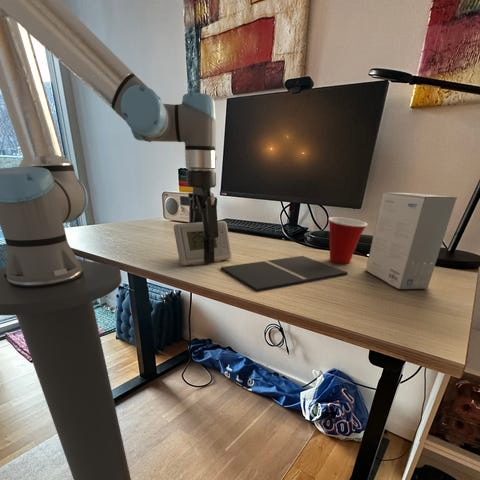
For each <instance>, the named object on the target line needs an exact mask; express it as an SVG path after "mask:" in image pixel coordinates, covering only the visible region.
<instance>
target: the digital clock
mask: <svg viewBox="0 0 480 480" xmlns="http://www.w3.org/2000/svg"><path fill="white" fill-rule="evenodd" d="M217 221H218V238H215V239H214V262H212V263H211V264H213V263H221V262H222V261H226V260H231V259H232V257H233V254H232V248H231V242H230V236H229V229H228V224H227V222H226V221H224V220H217ZM173 233H174V238H175V243H176V248H177V249H176V250H177V254H178V260H179V262H180V265H182V266H189V265H190V266H191V265H193V266H198V265H205V264H207V263H204V240H203V238H204V237H205V233H204V227H203V221H202V222H194V223H189V222H186V223H176V224H174V226H173Z"/></svg>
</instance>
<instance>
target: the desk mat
mask: <svg viewBox="0 0 480 480" xmlns="http://www.w3.org/2000/svg"><path fill="white" fill-rule="evenodd" d="M220 270H222V271H223V272H224V273H227V274H228V275H230V276H231V277H233V278H234V279H236V280H237V281H240V282H241V283H242V284H245V285H246V286H248V287H249V288H251V289H252V290H254V291H256V292H261V291H267V290H272V289H277V288H281V287H287V286H292V285H293V286H294V285H298V284H304V283H308V282H313V281H320V280H324V279H330V278H336V277H340V276H346V275H348V272H347V271H346V270H342V269H339V268H337V267H334V266H331V265H329V264H326V263H323V262H321V261H319V260H316V259H312V258H310V257H307V256H305V255H299V256H293V257H292V256H291V257H284V258H278V259H269V260H261V261H256V262H255V261H254V262H248V263H241V264H240V263H239V264H233V265H227V266H220Z"/></svg>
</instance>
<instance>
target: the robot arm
mask: <svg viewBox="0 0 480 480" xmlns="http://www.w3.org/2000/svg"><path fill="white" fill-rule="evenodd" d="M32 38H33V39H35V40H36V42H38V43H39V44H40V45H41V46H42V47H44V49H46V50H47V51H48V52H49V53H50V54H51V55H52V56H53V57H55V58H56V60H58V61H59V62H60V63H61V64H62V65H64V67H66V68H67V70H69V71H70V72H71V73H72V74H73V75H74V76H75V77H76V78H78V79H79V80H80V82H82V83H83V84H84V85H85V86H87V87H88V88H89V89H90V90H91V91H92V92H93V93H94V94H95V95H97V96H98V98H100V99H101V100H102V101H103V102H104V103H105V104H106V105H107V106H108V107H109V108H111V109H112V111H114V112H115V113H116V114H117V115H118V116H119V117H120V118H121V119H122V120H123V121H125V123H126V124H127V126H128V127H129V128H130V131H131V133H132V136H133V138H134V139H135V140H136V141H140V142H148V143H152V142H163V143H165V142H166V143H167V142H168V143H184V162H185V168H186V169H187V171H186V172H185V176H186V186H187V187H188V188H192V192H188V194H187V195H188V217H189V218H188V223H194V222H203V227H204V233H205V237H204V238H203V240H204V263H206V264H213V263H215V262H214V239H215V238H218V221H219V220H218V209H217V208H218V197H217V196H212V190H211V189H212V188H215V187H217V173H216V171H214V170H215V169H216V166H217V165H216V163H217V162H216V161H217V159H218V157H217V155H216V146H217V145H216V142H217V141H216V140H217V139H216V134H217V133H216V130H217V129H216V128H217V127H216V122H217V121H216V105H215V103H216V102H215V100H214V98H213V96H212V95H209V94H207V93H203V92H202V93H201V92H187V93H185V94H183V95H182V99H181V103H179V104H176V103H175V104H172V103H163V100H162V99H161V97H160V96H159V95H158V94H157V93H156V92H155V91H154V90H153V89H152V88H150V87H148V86H147V85H146V83H144V82H143V81H142V80H141V79H140V78H139V77H138V76H137V75H135V73H134V71H132V69H130V68H129V67H128V66H127V65H126V64H125V63H124V62H123V60H121V59H120V58H119V57H118V56H117V55H116V54H115V53H114V52H113V51H112V50H111V48H109V47H108V46H107V45H106V44H105V43H104V42H103V41H102V40H101V39H100V38H99V37H98V36H97V35H96V34H95V33H94V32H93V31H92V30H91V29H90V28H89V27H88V26H87V25H86V24H85V23H84V22H83V21H82V20H81V19H80V18H78V16H76V15H75V13H73V12H72V10H71V9H70V8H69V7H67V5H65V3H63V2H62V1H61V0H0V92H1V93H0V94H1V96H2V98H3V101H4V104H5V107H6V111H7V113H8V116H9V120H10V122H11V125H12V129H13V131H14V135H15V137H16V140H17V143H18V146H19V149H20V153H21V155H22V160H21V161H20V163H19V164H18V166H13V167H2V168H0V229H1V233H2V235H3V238H4V241H5V245H6V249H7V255H6V267H7V268H6V274H5V275H4V277H5V278H7V279H8V282H9V284H10V285H11V286H14V287H18V288H44V287H51V286H57V285H62V284H65V283H69V282H72V281H74V280H76V279H78V278H80V277H81V276H82V275H83V270H82V267H81V264H80V262H79V261H78V259H79V258H78V257H77V256H76V254H75V253H74V251H73V249H72V247H71V246H70V244H69V241H68V239H67V238H68V237H67V235H66V234H67V233H66V230H65V225H64V224H66V223H71V222H74V221H77V219H79V218H80V217H81V216H82V215H84V213H85V212H86V210H87V208H88V204H89V195H88V192H87V189H86V187H85V185H84V184H83V182H82V181H81V180H80V179H79V178H77V174H76V171H75V167H74V164H73V162H71V161H70V160H69V159H68V158H66V156H65V155H64V151H63V149H62V145H61V141H60V137H59V134H58V130H57V127H56V122H55V120H54V116H53V113H52V112H53V111H52V108H51V106H50V101H49V99H48V98H49V97H48V95H47V91H46V87H45V84H44V81H43V77H42V72H41V70H40V67H39V63H38V59H37V56H36V51H35V48H34V45H33V41H32ZM212 262H213V263H212Z"/></svg>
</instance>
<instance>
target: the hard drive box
mask: <svg viewBox="0 0 480 480" xmlns="http://www.w3.org/2000/svg"><path fill="white" fill-rule="evenodd" d="M457 199H458V197H456V196H446V195H436V194H427V193H426V194H425V193H413V192H382V195H381V198H380V204H379V208H378V213H377V217H376V221H375V225H374V230H373V234H372V235H373V236H372V241H371V244H370V249H369V254H368V258H367V261H366V267H365V271H366V272H368V273H370V274H372V275H373V276H376V277H377V278H379V279H381V280H382V281H384V282H385V283H387V284H388V285H390V286H392V287H394V288H396V289H398V290H417V289H418V290H421V289H422V290H423V289H424V290H425V289H429V285H430V283H431V279H432V276H433V273H434V270H435V267H436V264H437V261H438V257H439V254H440V250H441V248H442V246H443V245H442V244H443V242H444V239H445V236H446V233H447V230H448V226H449V223H450V220H451V217H452V214H453V211H454V208H455V204H456V202H457Z"/></svg>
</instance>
